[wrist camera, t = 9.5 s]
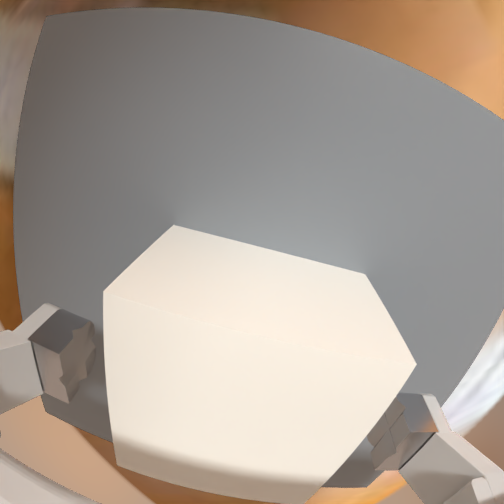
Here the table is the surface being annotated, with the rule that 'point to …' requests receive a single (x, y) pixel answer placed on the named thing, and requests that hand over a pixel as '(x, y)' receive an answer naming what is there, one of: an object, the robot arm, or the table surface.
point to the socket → (256, 177)
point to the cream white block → (244, 366)
